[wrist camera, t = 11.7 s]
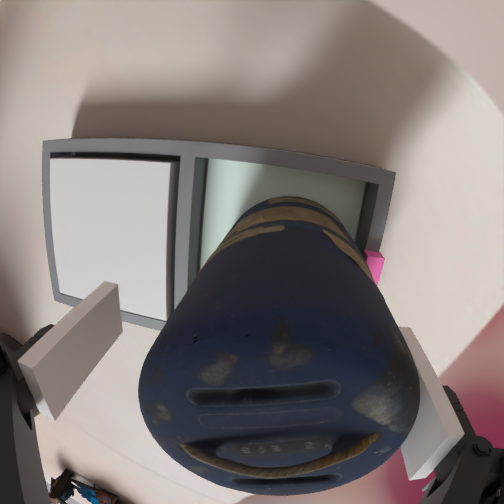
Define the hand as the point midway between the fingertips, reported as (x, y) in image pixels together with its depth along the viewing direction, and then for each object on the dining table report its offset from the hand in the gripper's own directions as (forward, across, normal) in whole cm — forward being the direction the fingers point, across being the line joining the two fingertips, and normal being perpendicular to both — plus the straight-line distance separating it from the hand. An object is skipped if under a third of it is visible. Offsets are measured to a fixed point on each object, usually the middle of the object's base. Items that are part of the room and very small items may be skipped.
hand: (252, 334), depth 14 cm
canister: (+11, +2, 0) cm, 11 cm away
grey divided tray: (+12, -6, 0) cm, 14 cm away
